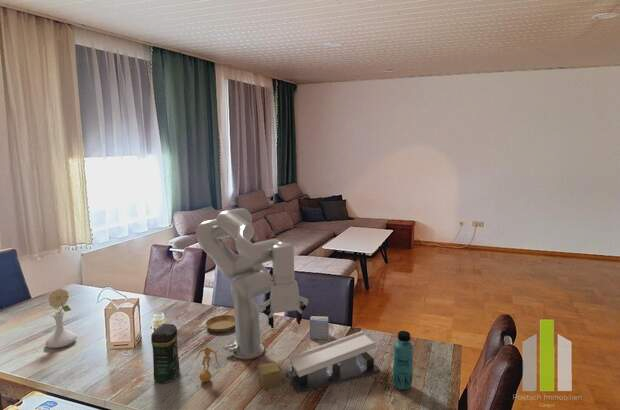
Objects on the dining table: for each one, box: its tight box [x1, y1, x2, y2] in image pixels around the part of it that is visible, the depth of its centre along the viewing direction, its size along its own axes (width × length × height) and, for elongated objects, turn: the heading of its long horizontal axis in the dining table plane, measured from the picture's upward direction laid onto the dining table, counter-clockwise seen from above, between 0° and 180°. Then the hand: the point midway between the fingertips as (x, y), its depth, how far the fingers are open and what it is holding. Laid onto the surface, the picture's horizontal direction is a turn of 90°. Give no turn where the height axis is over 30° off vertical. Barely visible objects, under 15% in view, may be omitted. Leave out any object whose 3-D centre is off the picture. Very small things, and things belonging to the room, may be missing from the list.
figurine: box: [195, 346, 218, 383], centre depth 142 cm, size 8×6×12 cm
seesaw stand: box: [285, 351, 381, 394], centre depth 145 cm, size 32×12×7 cm, turn 112°
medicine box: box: [309, 315, 330, 340], centre depth 172 cm, size 8×4×9 cm, turn 84°
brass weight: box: [258, 361, 282, 391], centre depth 139 cm, size 6×6×6 cm
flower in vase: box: [45, 287, 78, 349], centre depth 168 cm, size 13×11×25 cm
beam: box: [288, 330, 377, 377], centre depth 144 cm, size 30×10×2 cm, turn 111°
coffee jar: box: [150, 323, 180, 383], centre depth 144 cm, size 10×8×19 cm
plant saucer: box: [205, 314, 235, 333], centre depth 184 cm, size 15×15×3 cm
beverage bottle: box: [392, 330, 414, 390], centre depth 135 cm, size 6×7×20 cm
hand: (285, 324), depth 143 cm, fingers open, 9 cm apart
